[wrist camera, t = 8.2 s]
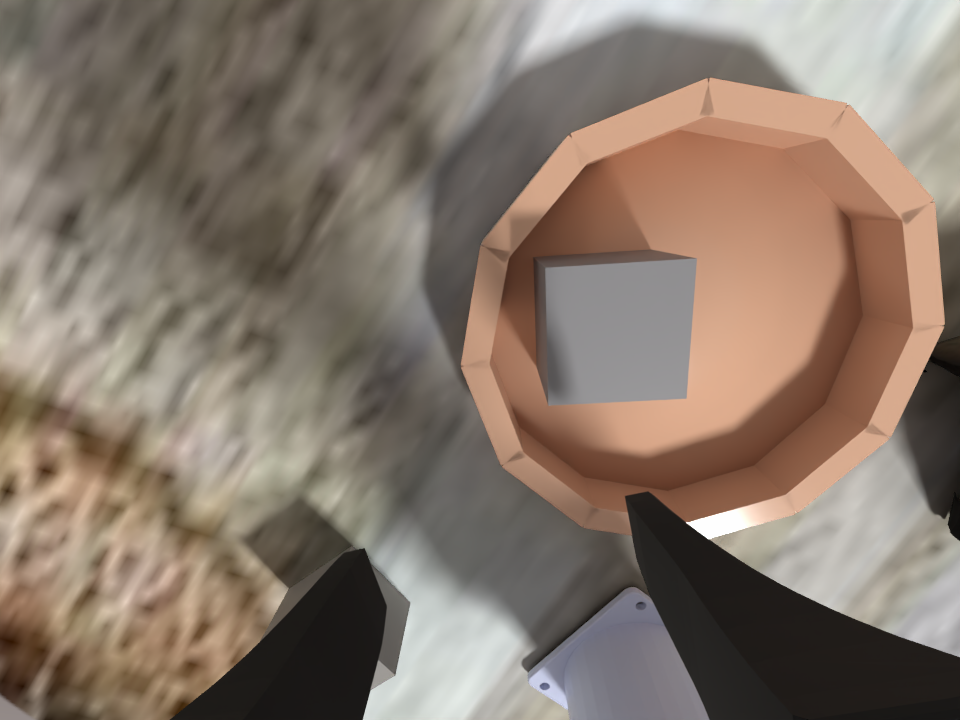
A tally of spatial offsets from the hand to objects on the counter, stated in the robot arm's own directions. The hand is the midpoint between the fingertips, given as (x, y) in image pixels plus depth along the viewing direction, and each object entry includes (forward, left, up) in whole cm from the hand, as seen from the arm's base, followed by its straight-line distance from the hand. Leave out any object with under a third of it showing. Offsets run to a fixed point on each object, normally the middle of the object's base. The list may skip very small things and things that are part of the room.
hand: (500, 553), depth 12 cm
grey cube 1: (0, -6, -8) cm, 10 cm away
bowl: (-3, -8, -8) cm, 12 cm away
